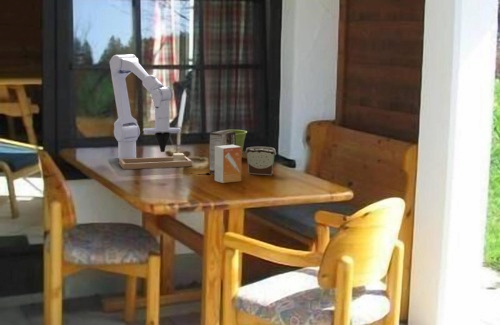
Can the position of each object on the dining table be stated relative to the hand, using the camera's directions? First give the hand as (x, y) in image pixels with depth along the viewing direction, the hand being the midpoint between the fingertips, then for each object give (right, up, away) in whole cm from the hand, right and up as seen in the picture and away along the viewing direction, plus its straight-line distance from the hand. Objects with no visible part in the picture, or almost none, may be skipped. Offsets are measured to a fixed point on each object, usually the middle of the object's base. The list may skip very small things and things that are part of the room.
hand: (162, 151), depth 357 cm
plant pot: (+28, -3, +26) cm, 38 cm away
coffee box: (+24, -9, -8) cm, 27 cm away
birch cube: (+6, -5, +3) cm, 8 cm away
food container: (+40, -9, -8) cm, 41 cm away
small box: (+27, -11, -24) cm, 38 cm away
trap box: (-3, -7, 0) cm, 7 cm away
